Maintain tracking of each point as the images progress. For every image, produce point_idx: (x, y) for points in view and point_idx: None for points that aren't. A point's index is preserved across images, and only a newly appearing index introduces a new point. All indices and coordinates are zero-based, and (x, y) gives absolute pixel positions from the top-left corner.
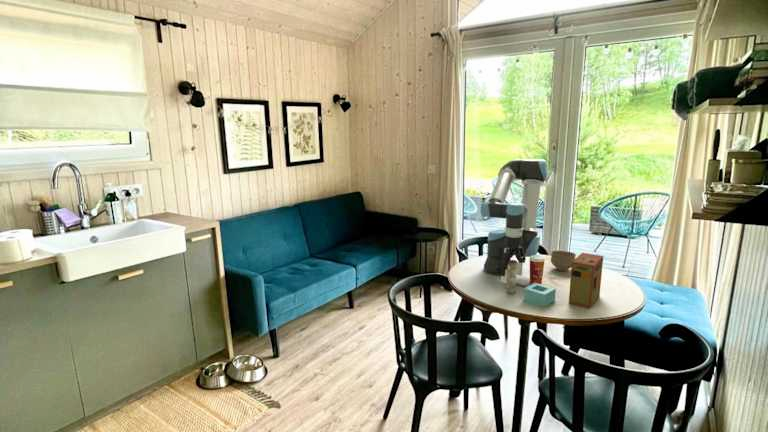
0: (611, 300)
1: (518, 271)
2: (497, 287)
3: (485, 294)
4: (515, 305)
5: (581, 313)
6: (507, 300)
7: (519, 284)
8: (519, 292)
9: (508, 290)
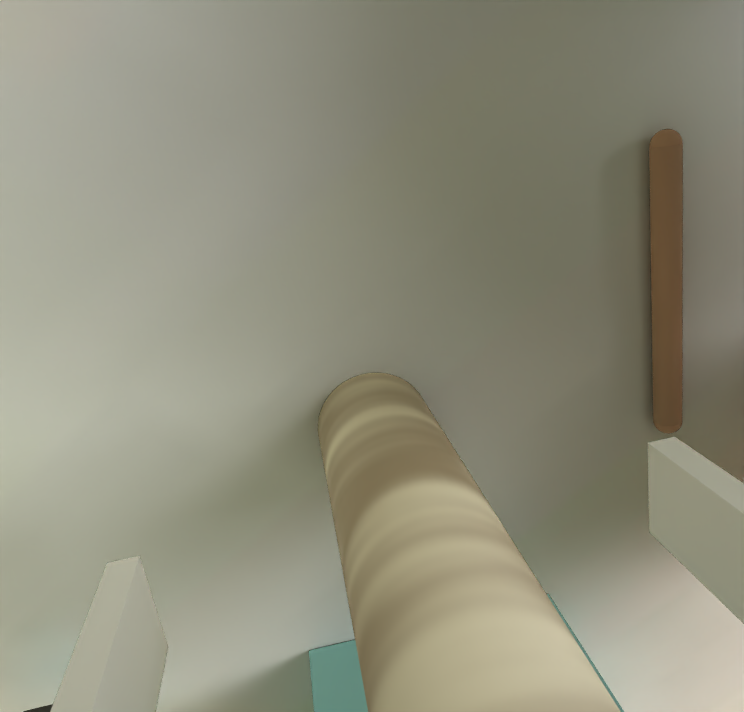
0: None
1: (695, 520)
2: (367, 185)
3: (2, 280)
4: None
5: None
6: None
7: (661, 330)
8: None
9: (322, 451)
